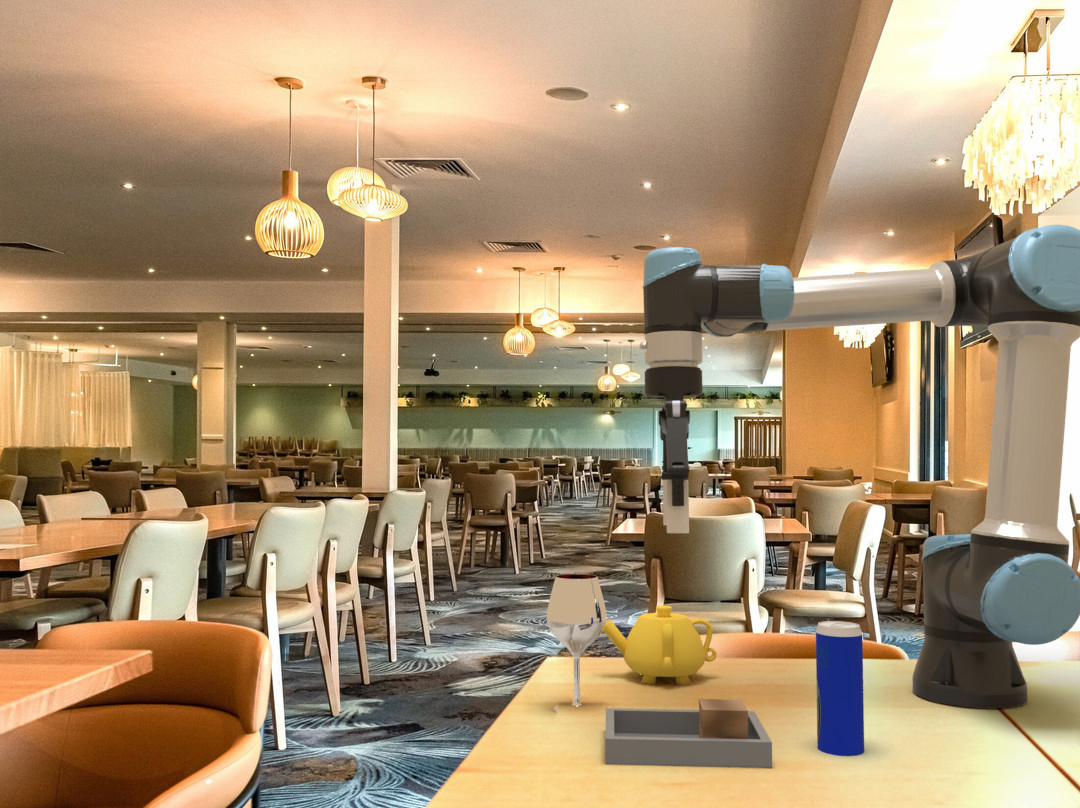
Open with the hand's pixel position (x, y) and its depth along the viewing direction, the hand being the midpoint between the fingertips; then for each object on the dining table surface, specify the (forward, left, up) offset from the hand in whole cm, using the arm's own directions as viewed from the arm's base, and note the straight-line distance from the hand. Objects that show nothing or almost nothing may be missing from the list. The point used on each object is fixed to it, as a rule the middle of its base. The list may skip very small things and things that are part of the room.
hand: (675, 529), depth 127 cm
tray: (0, +14, -25) cm, 28 cm away
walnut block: (-4, +14, -24) cm, 28 cm away
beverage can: (-18, +13, -25) cm, 33 cm away
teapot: (+1, -26, -25) cm, 37 cm away
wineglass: (+13, -5, -25) cm, 29 cm away
